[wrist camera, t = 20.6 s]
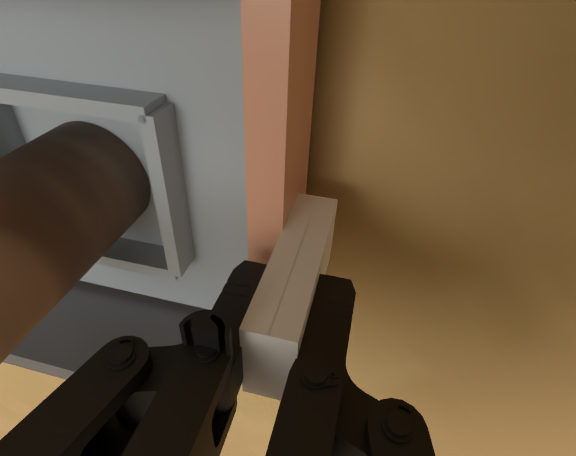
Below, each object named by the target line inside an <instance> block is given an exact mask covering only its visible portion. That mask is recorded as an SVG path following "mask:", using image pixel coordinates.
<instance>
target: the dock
mask: <svg viewBox="0 0 576 456" xmlns="http://www.w3.org/2000/svg"><path fill="white" fill-rule="evenodd" d="M200 310H209V309H204V308H200V307H195V306H191V305H187V304H182V303H178V302H173V301H169V300H164V299H160V298H156V297H151V296H147V295H142V294H138V293H133V292H129V291H125V290H120V289H116V288H111V287H107V286H102V285H98V284H93V283H89V282H85V281H80V280H79V281H78V282H77V283H76V284H75V286H74V287H73V288H72V289H71V290H70V291H69V292H68V293H67V294H66V295H65V296H64V297H63V298H62V299H61V300H60V301H59V302H58V304H57V305H56V306H55V307H54V308H53V309H52V310H51V311H50V312H49V313H48V314H47V315H46V316H45V317H44V318H43V319H42V320H41V322H40V323H39V324H38V325H37V326H36V327H35V328H34V329H33V330H32V331H31V332H30V333H29V334H28V335H27V336H26V337H25V338H24V340H23V341H22V342H21V343H20V344H19V345H18V346H17V347H16V348H15V349H14V350H13V351H12V352H11V353H10V354H9V355H8V356H7V358H6V359H5V360H4V361H3V362H5V363H8V364H12V365H16V366H19V367H23V368H26V369H30V370H34V371H37V372H41V373H44V374H48V375H52V376H55V377H59V378H62V379H66V380H67V379H68V378H69V377H70V376H71V375H72V374H73V373H74V372H75V371H76V370H78V369H79V368H80V367H81V366H82V365H83V364H84V363H85V362H86V361H87V360H88V359H90V358H91V357H92V356H93V355H94V354H95V353H96V352H97V351H98V350H99V349H100V348H102V347H103V346H104V345H105V344H107V343H108V342H110V341H111V340H113V339H116V338H119V337H121V336H132V335H133V336H136V337H140V338H142V339H143V340H144V341H145V342H146V343H147V344H148V347H158V346H172V345H178V344H181V343H182V338H181V334H180V329H179V323H180V322H181V321H182V320H183V319H184V318H185V317H186V316H188V315H189V314H191V313H193V312H196V311H200Z"/></svg>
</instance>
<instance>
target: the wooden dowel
mask: <svg viewBox="0 0 576 456" xmlns="http://www.w3.org/2000/svg"><path fill="white" fill-rule="evenodd" d="M150 194H151V191H150V184H149V179H148V177H147V174H146V171H145V169H144V167H143V165H142V164H141V162H140V160H139V159H138V158H137V156H136V155H135V154H134V152H133V151H132V150H131V149H130V148H129V147H128V146H127V145H126V144H125V143H124V142H123V141H122V140H120V139H119V138H118V137H117V136H115V135H114V134H112V133H111V132H109V131H107V130H105V129H104V128H102V127H99V126H97V125H94V124H91V123H87V122H81V121H71V122H66V123H63V124H61V125H59V126H57V127H55V128H53V129H52V130H50V131H48V132H46V133H44V134H42V135H41V136H39V137H37V138H35V139H33V140H32V141H30V142H28V143H26V144H24V145H23V146H21V147H19V148H17V149H15V150H14V151H12V152H10V153H8V154H6V155H5V156H3V157H1V158H0V364H1V363H2V362H3V361H4V360H5V359H6V358H7V356H8V355H9V354H10V353H11V352H12V351H13V350H14V349H15V348H16V347H17V346H18V345H19V344H20V343H21V342H22V341H23V340H24V338H25V337H26V336H27V335H28V334H29V333H30V332H31V331H32V330H33V329H34V328H35V327H36V326H37V325H38V324H39V323H40V322H41V320H42V319H43V318H44V317H45V316H46V315H47V314H48V313H49V312H50V311H51V310H52V309H53V308H54V307H55V306H56V305H57V304H58V302H59V301H60V300H61V299H62V298H63V297H64V296H65V295H66V294H67V293H68V292H69V291H70V290H71V289H72V288H73V287H74V286H75V284H76V283H77V282H78V281H79V280H80V279H81V278H82V277H83V276H84V275H85V274H86V273H87V272H88V271H89V270H90V269H91V268H92V267H93V265H94V264H95V263H96V262H97V261H98V260H99V259H100V258H101V257H102V256H103V255H104V254H105V253H106V252H107V251H108V250H109V249H110V247H111V246H112V245H113V244H114V243H115V242H116V241H117V240H118V239H119V238H120V237H121V236H122V235H123V234H124V233H125V232H126V231H127V229H128V228H129V227H130V226H131V225H132V224H133V223H134V222H135V221H136V220H137V219H138V218H139V217H140V216H141V215H142V214H143V213H144V211H145V210H146V209H147V207H148V204H149V201H150Z"/></svg>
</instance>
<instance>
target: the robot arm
mask: <svg viewBox="0 0 576 456" xmlns="http://www.w3.org/2000/svg"><path fill="white" fill-rule="evenodd" d="M337 202H338V199H332V198H326V197H319V196H313V195H307V194H301V193H299V194H298V196H297V198H296V201H295V203H294V205H293V207H292V210H291V212H290V214H289V217H288V219H287V221H286V223H285V226H284V228H283V230H282V232H281V234H280V237H279V239H278V241H277V243H276V246H275V248H274V250H273V253H272V255H271V257H270V259H269V262H268V264H263V263H258V262H253V261H248V260H244V261H243V262H242V263H240V264H239V265H238V266H237V267H235V268H234V269H233V271H232V272H231V274H230V276H229V278H228V280H227V283H226V284H225V285H224V287H223V289H222V292H221V293H220V295H219V297H218V299H217V300H216V302H215V304H214V306H213V308H212V310H200V311H196V312H193V313H191V314H189V315H188V316H186V317H185V318H184V319H183V320H182V321H181V322H180V323H179V329H180V334H181V338H182V343H181V344H178V345H172V346H158V347H148V344H147V343H146V342H145V341H144V340H143V339H142V338H140V337H136V336H133V335H132V336H121V337H119V338H116V339H113V340H111V341H110V342H108V343H107V344H105V345H104V346H103V347H102V348H100V349H99V350H98V351H97V352H96V353H95V354H94V355H93V356H92V357H91V358H90V359H88V360H87V361H86V362H85V363H84V364H83V365H82V366H81V367H80V368H79V369H78V370H76V371H75V372H74V373H73V374H72V375H71V376H70V377H69V378H68V379H67V380H66V381H64V382H63V383H62V384H61V385H60V386H59V387H58V388H57V389H56V390H55V391H54V392H52V393H51V394H50V395H49V396H48V397H47V398H46V399H45V400H44V401H43V402H41V403H40V404H39V405H38V406H37V407H36V408H35V409H34V410H33V411H32V412H31V413H29V414H28V415H27V416H26V417H25V418H24V419H23V420H22V421H21V422H20V423H19V424H17V425H16V426H15V427H14V428H13V429H12V430H11V431H10V432H9V433H8V434H7V435H5V436H4V437H3V438H2V439H1V440H0V456H219V455H220V453H221V450H222V447H223V445H224V442H225V439H226V436H227V434H228V431H229V428H230V425H231V423H232V420H233V417H234V414H235V412H236V407H237V394H238V392H239V389H240V386H241V384H242V385H243V391H246V392H250V393H254V394H258V395H262V396H265V397H269V398H273V399H277V400H281V402H280V406H279V410H278V413H277V417H276V420H275V424H274V427H273V431H272V434H271V438H270V442H269V445H268V449H267V452H266V456H435V453H434V449H433V445H432V442H431V438H430V434H429V431H428V427H427V425H426V423H425V421H424V419H423V417H422V415H421V414H420V413H419V412H418V411H417V410H416V409H415V408H414V406H412V405H410V404H408V403H407V402H405V401H403V400H399V399H394V398H388V399H382V400H380V401H379V400H377V399H375V398H373V397H372V396H370V395H368V394H367V393H365V392H364V391H362V390H361V389H359V388H358V387H357V386H356V385H355V384H354V383H353V382H352V380H351V379H350V377H349V375H348V373H347V369H346V354H347V347H348V341H349V334H350V328H351V321H352V314H353V308H354V301H355V295H356V292H355V289H354V287H353V284H352V281H351V280H350V279H345V278H339V277H334V276H329V275H326V271H327V267H328V263H329V259H330V255H331V248H332V240H333V232H334V225H335V217H336V209H337Z"/></svg>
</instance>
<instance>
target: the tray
mask: <svg viewBox="0 0 576 456" xmlns="http://www.w3.org/2000/svg"><path fill="white" fill-rule="evenodd" d="M320 5H321V0H0V158H1V157H3V156H5V155H6V154H8V153H10V152H12V151H14V150H15V149H17V148H19V147H21V146H23V145H24V144H26V143H28V142H30V141H32V140H33V139H35V138H37V137H39V136H41V135H42V134H44V133H46V132H48V131H50V130H52V129H53V128H55V127H57V126H59V125H61V124H63V123H66V122H71V121H81V122H87V123H91V124H94V125H97V126H99V127H102V128H104V129H105V130H107V131H109V132H111V133H112V134H114V135H115V136H117V137H118V138H119V139H120V140H122V141H123V142H124V143H125V144H126V145H127V146H128V147H129V148H130V149H131V150H132V151H133V152H134V154H135V155H136V156H137V158H138V159H139V160H140V162H141V164H142V165H143V167H144V169H145V171H146V174H147V177H148V179H149V184H150V191H151V194H150V201H149V204H148V207H147V209H146V210H145V211H144V213H143V214H142V215H141V216H140V217H139V218H138V219H137V220H136V221H135V222H134V223H133V224H132V225H131V226H130V227H129V228H128V229H127V231H126V232H125V233H124V234H123V235H122V236H121V237H120V238H119V239H118V240H117V241H116V242H115V243H114V244H113V245H112V246H111V247H110V249H109V250H108V251H107V252H106V253H105V254H104V255H103V256H102V257H101V258H100V259H99V260H98V261H97V262H96V263H95V264H94V265H93V267H92V268H91V269H90V270H89V271H88V272H87V273H86V274H85V275H84V276H83V277H82V278H81V279H80V281H85V282H89V283H93V284H98V285H102V286H107V287H111V288H116V289H120V290H125V291H129V292H133V293H138V294H142V295H147V296H151V297H156V298H160V299H164V300H169V301H173V302H178V303H182V304H187V305H191V306H195V307H200V308H204V309H209V310H212V308H213V306H214V304H215V302H216V300H217V299H218V297H219V295H220V293H221V292H222V289H223V287H224V285H225V284H226V283H227V280H228V278H229V276H230V274H231V272H232V271H233V269H234V268H235V267H237V266H238V265H239V264H240V263H242V262H243V261H244V260H248V261H253V262H258V263H263V264H268V262H269V259H270V257H271V255H272V253H273V250H274V248H275V246H276V243H277V241H278V239H279V237H280V234H281V232H282V230H283V228H284V226H285V223H286V221H287V219H288V217H289V214H290V212H291V210H292V207H293V205H294V203H295V201H296V198H297V196H298V194H299V193H301V194H306V187H307V174H308V161H309V148H310V135H311V122H312V109H313V96H314V83H315V70H316V57H317V44H318V31H319V18H320Z"/></svg>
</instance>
